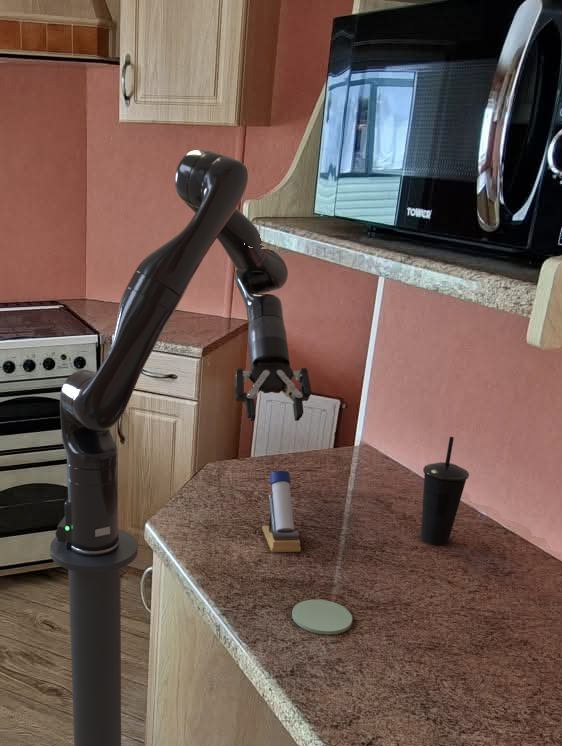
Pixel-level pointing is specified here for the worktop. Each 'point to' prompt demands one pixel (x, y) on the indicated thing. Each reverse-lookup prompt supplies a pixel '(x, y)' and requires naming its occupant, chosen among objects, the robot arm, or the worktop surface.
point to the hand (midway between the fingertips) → (275, 419)
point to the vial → (282, 500)
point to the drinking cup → (441, 499)
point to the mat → (322, 616)
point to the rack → (280, 535)
